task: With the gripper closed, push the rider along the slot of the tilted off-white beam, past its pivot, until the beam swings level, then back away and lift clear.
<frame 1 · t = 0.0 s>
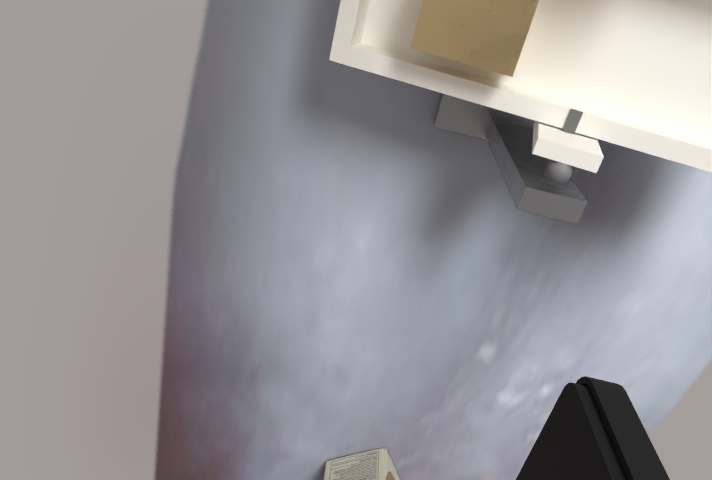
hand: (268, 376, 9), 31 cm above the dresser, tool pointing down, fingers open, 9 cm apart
skincare box: (364, 466, 54), on the dresser
stand: (549, 15, 35), on the dresser
beam: (603, 35, 28), point 8 cm above the dresser, hinge at 12.3°, touching rider
rider: (485, 4, 29), point 6 cm above the dresser, tilted 12°, touching beam
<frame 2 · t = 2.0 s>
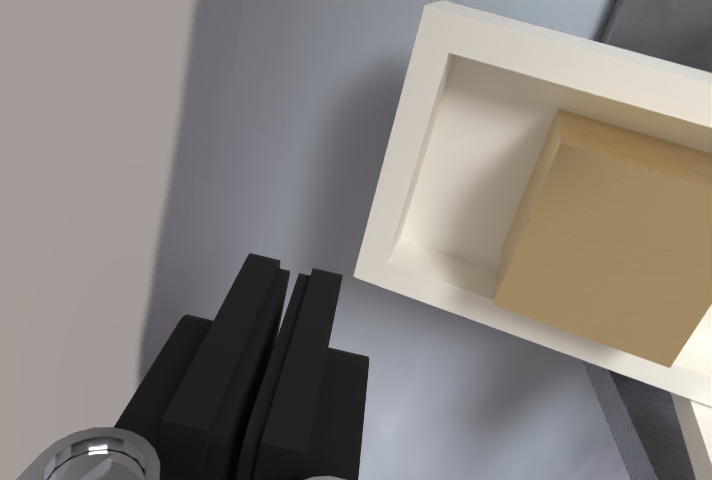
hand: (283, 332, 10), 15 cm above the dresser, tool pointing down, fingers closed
stand: (671, 169, 24), on the dresser
rider: (604, 206, 18), point 6 cm above the dresser, tilted 12°, touching beam
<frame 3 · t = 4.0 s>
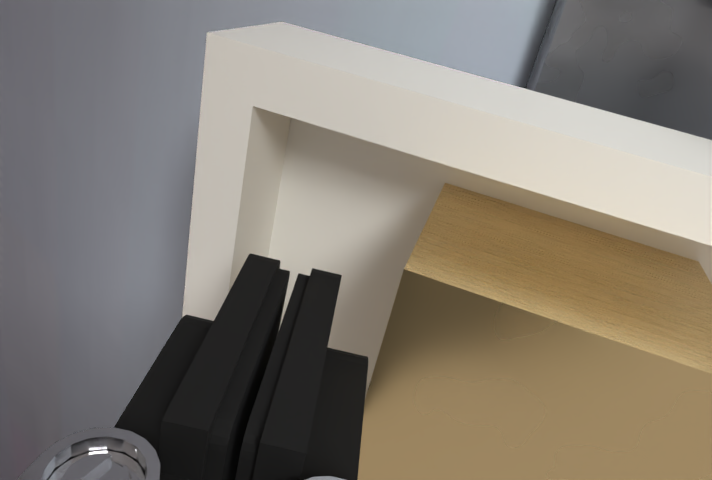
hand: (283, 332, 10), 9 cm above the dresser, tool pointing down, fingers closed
stand: (635, 239, 18), on the dresser
rider: (523, 321, 12), point 6 cm above the dresser, tilted 12°, touching beam, gripper
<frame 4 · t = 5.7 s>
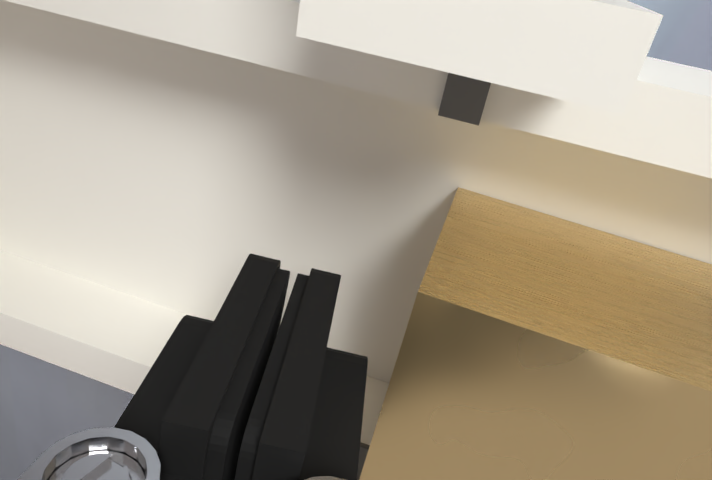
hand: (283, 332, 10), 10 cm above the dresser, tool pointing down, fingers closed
beam: (423, 267, 11), point 8 cm above the dresser, hinge at 11.9°
rider: (541, 333, 12), point 8 cm above the dresser, tilted 12°, touching gripper
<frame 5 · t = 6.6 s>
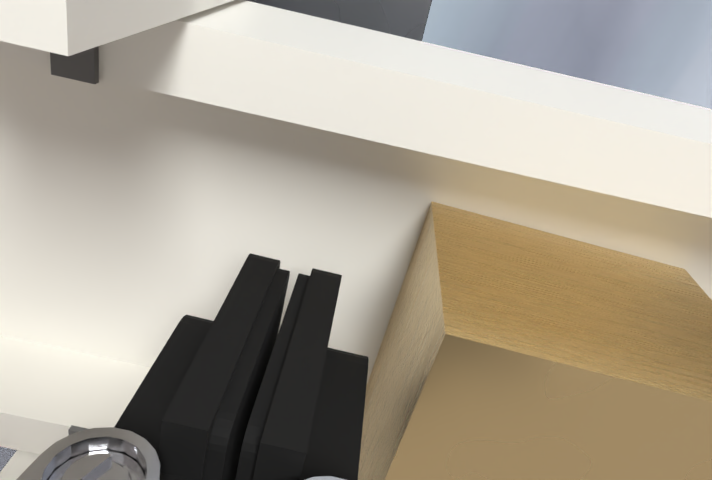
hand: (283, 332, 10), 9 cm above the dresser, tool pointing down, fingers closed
stand: (236, 122, 18), on the dresser
beam: (124, 238, 11), point 8 cm above the dresser, hinge at -0.3°
rider: (509, 338, 12), point 8 cm above the dresser, touching gripper
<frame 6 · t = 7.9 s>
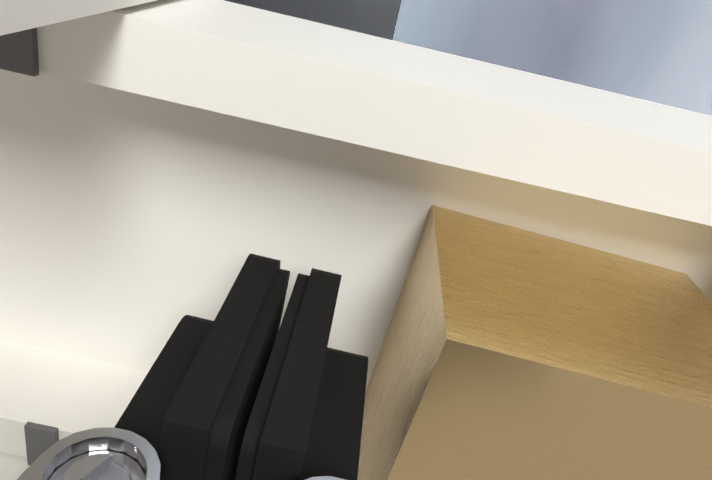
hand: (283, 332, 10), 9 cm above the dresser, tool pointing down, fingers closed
stand: (210, 120, 18), on the dresser
beam: (81, 234, 11), point 8 cm above the dresser, hinge at -0.2°, touching rider
rider: (510, 342, 12), point 8 cm above the dresser, touching beam, gripper
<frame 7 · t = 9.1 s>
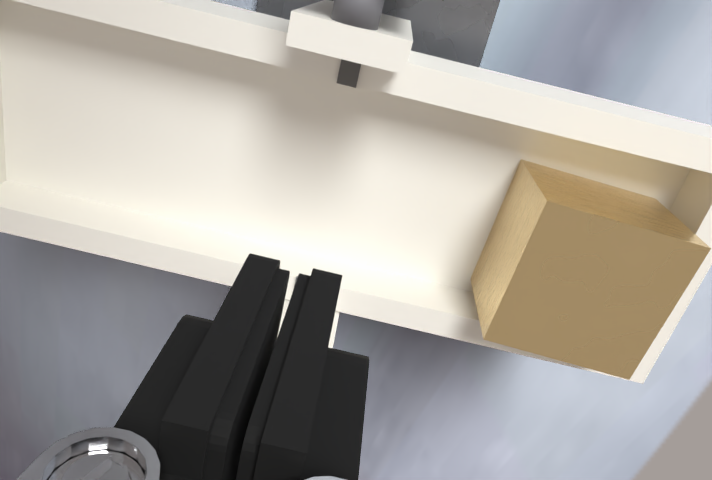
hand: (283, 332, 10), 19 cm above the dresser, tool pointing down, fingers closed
stand: (350, 120, 27), on the dresser
beam: (329, 173, 20), point 8 cm above the dresser, hinge at -0.2°, touching rider
rider: (558, 240, 21), point 8 cm above the dresser, touching beam
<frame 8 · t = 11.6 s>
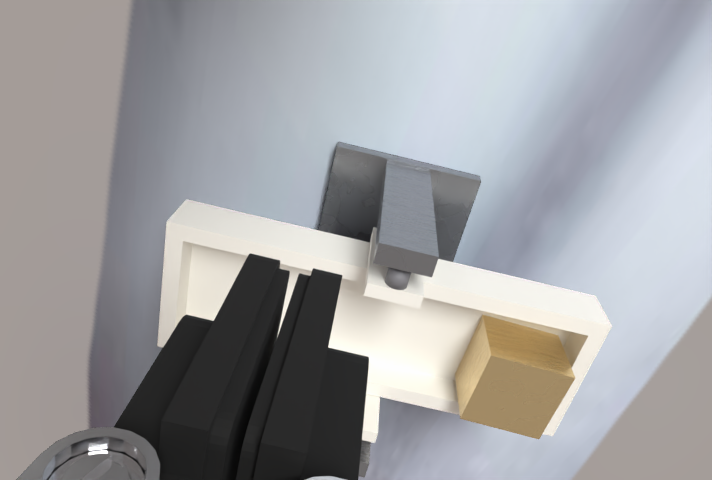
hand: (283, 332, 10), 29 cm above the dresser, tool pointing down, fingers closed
stand: (380, 259, 43), on the dresser
beam: (375, 321, 35), point 8 cm above the dresser, hinge at -0.2°, touching rider
rider: (505, 355, 36), point 8 cm above the dresser, touching beam
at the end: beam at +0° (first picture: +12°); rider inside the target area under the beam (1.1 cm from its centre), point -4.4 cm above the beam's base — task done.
